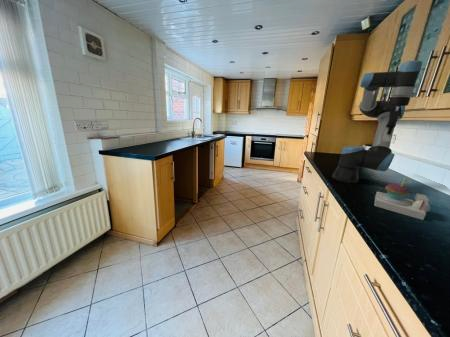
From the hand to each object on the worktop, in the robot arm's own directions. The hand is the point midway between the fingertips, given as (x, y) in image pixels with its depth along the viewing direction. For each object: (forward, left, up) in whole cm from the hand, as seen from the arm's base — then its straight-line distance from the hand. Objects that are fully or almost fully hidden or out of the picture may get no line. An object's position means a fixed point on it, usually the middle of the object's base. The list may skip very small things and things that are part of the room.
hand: (385, 140), depth 96 cm
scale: (+10, +12, -31) cm, 34 cm away
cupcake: (+10, +10, -27) cm, 30 cm away
